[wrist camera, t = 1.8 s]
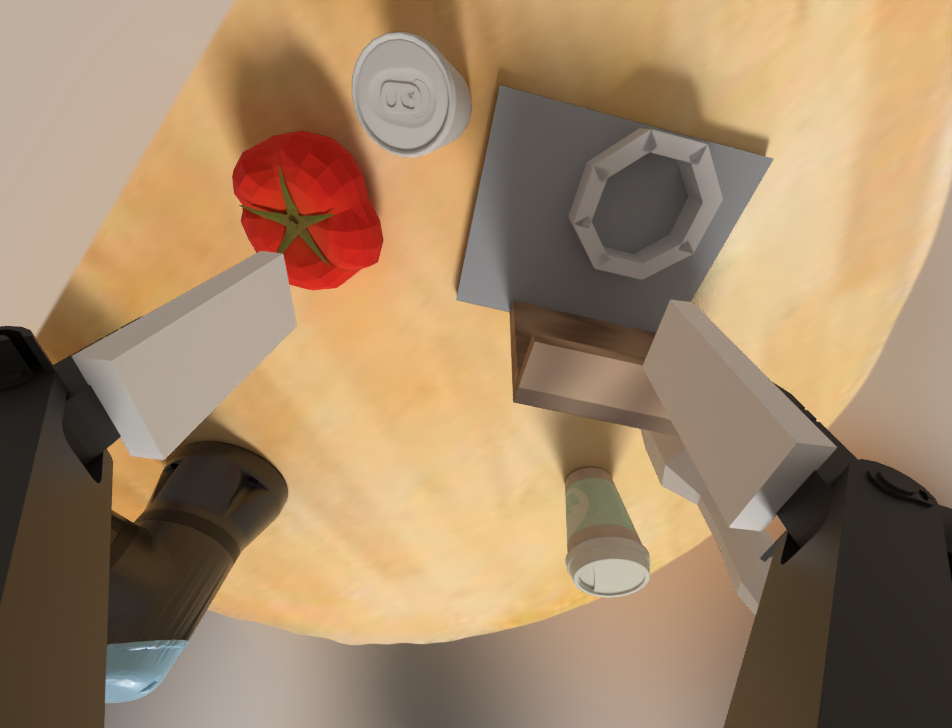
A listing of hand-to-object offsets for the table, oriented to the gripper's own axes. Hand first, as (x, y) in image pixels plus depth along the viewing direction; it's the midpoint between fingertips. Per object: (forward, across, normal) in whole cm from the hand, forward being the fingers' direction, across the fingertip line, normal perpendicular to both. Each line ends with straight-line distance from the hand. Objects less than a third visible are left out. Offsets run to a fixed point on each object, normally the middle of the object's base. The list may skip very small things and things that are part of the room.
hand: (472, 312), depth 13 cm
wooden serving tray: (+20, +10, -8) cm, 24 cm away
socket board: (+20, +9, -2) cm, 22 cm away
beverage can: (+21, -4, +6) cm, 22 cm away
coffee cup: (+21, +16, -32) cm, 41 cm away
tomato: (+21, -14, -2) cm, 25 cm away
